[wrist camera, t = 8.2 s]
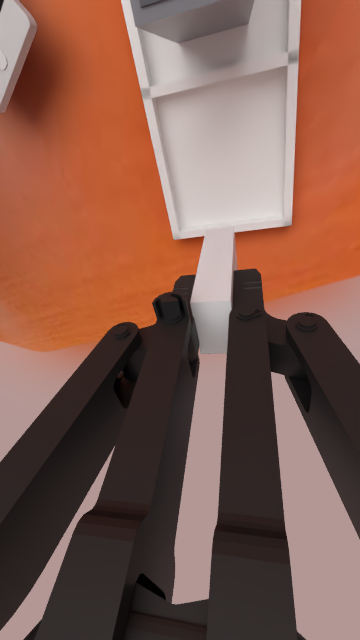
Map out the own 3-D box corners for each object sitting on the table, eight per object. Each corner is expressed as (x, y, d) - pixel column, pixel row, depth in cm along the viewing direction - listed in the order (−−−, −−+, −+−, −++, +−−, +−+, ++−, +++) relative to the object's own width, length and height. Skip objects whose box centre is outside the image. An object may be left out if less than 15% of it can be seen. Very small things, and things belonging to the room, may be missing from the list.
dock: (176, 232, 32) (150, 303, 22) (91, -170, 17) (-102, -483, 7) (289, 218, 29) (314, 292, 19) (307, -277, 14) (453, -1000, 5)
